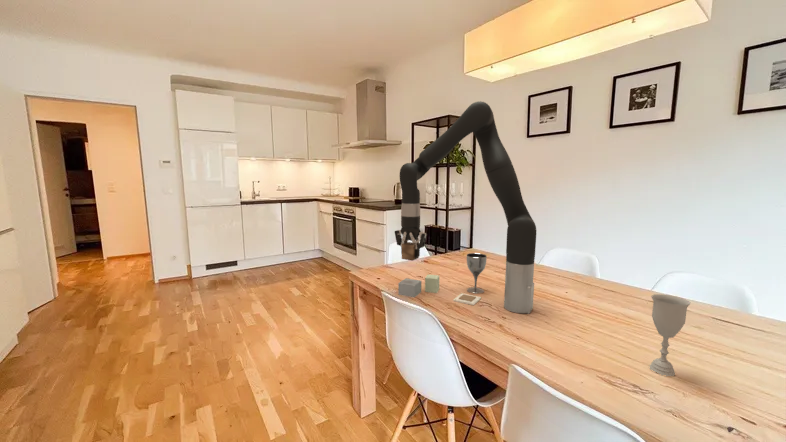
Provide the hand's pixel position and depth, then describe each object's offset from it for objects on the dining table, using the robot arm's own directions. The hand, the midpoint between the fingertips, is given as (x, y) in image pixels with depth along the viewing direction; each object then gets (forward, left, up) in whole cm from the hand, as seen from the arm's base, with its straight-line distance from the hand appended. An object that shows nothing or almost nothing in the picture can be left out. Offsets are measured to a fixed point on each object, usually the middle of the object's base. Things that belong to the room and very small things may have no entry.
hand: (410, 256), depth 129 cm
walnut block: (0, 0, -1) cm, 1 cm away
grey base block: (0, 0, -15) cm, 15 cm away
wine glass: (-21, -18, -15) cm, 32 cm away
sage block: (-6, -8, -15) cm, 18 cm away
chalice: (-78, +12, -15) cm, 80 cm away
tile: (-22, -6, -15) cm, 27 cm away
